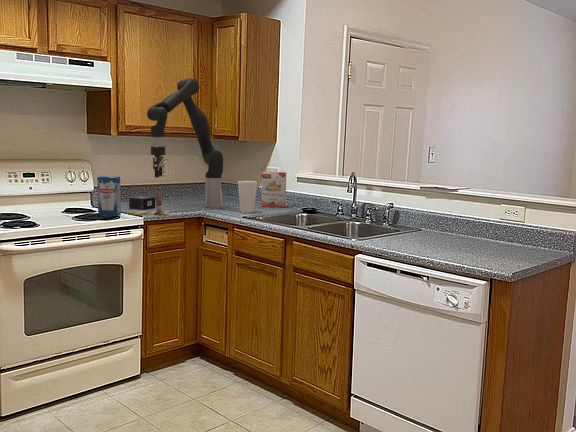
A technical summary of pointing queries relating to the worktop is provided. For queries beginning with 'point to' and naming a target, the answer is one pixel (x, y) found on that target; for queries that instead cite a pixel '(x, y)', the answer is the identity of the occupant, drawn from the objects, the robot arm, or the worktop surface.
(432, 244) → the worktop surface
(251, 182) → the cup
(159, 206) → the awl
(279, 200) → the cracker box
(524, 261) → the worktop surface
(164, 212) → the panel
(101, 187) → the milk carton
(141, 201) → the small box
